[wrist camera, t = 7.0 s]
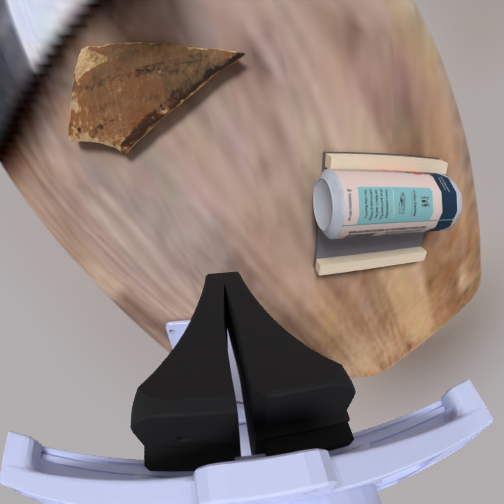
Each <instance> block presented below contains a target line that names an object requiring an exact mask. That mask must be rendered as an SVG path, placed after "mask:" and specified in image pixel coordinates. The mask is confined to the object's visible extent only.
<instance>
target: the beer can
mask: <svg viewBox="0 0 504 504" xmlns="http://www.w3.org/2000/svg"><path fill="white" fill-rule="evenodd" d="M313 208H314V214H315V218H316V222H317V224H318V226H319V228H320V229H321V230H322V231H323V233H324V234H325V236H327V237H328V238H329V239H341V238H353V237H365V236H377V235H390V234H402V233H415V232H428V231H443V230H446V229H448V228H450V227H451V226H452V225H453V224H454V223H455V222H456V221H457V219H458V217H459V215H460V213H461V211H462V199H461V193H460V191H459V190H458V188H457V186H456V184H455V183H454V182H453V181H452V180H451V179H450V178H448V177H447V176H446V175H444V174H441V173H428V172H414V171H397V170H373V169H326V170H324V171H323V172H322V174H321V175H320V177H319V179H318V180H317V182H316V184H315V187H314V192H313Z"/></svg>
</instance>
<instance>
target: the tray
mask: <svg viewBox="0 0 504 504" xmlns="http://www.w3.org/2000/svg"><path fill="white" fill-rule="evenodd" d="M447 165H448V163H446V162H444V161H442V160H440V159H438V158H431V157H421V156H410V155H397V154H380V153H358V152H323V164H322V172H323V171H324V170H326V169H373V170H397V171H414V172H428V173H441V174H446V171H447ZM424 235H425V232H415V233H402V234H390V235H377V236H365V237H353V238H341V239H329V238H328V237H327V236H325V234H324V233H323V231H322V230H321V229H320V228H319V226H318V227H317V237H316V247H315V256H314V265H313V266H314V267H315V269H316V271H317V273H318V275H319V276H320V275H328V274H335V273H342V272H350V271H357V270H364V269H371V268H377V267H384V266H391V265H397V264H404V263H410V262H416V261H423V260H424V259H425V256H426V253H427V251H425V250H424V249H423V248H422V247H421V246H422V242H423V238H424Z"/></svg>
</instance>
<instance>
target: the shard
mask: <svg viewBox="0 0 504 504" xmlns="http://www.w3.org/2000/svg"><path fill="white" fill-rule="evenodd" d="M244 55H245V53H239V52H235V51H227V50H221V49H202V48H196V47H186V46H178V45H175V44H169V43H148V42H133V43H126V42H122V43H109V44H106V45H104V46H88V47H85V48H83V49H82V50H81V53H80V55H79V58H78V62H77V66H76V69H75V72H74V77H73V79H74V80H73V87H72V99H71V111H70V120H69V126H68V136H69V138H70V140H71V141H77V142H82V141H85V142H96V143H102V144H104V145H107V146H111V147H114V148H117V149H118V150H119V151H120V152H121V153H122V154H124V155H125V154H128V153H129V151H130V150H131V149H132V147H133V146H135V144H136V143H137V142H138V141H139V140H140V139H141V138H143V137H144V136H145V135H146V134H147V133H148V132H149V131H151V130H152V128H153V127H154V126H156V125H157V124H158V123H159V122H160V121H161V120H162V119H163V118H164V117H165V116H166V115H168V114H169V113H170V112H171V111H172V110H174V109H175V108H176V107H177V106H179V105H181V104H182V103H183V102H184V101H185V100H186V99H187V98H189V97H190V96H191V95H193V94H194V93H195V92H196V91H198V90H199V89H200V88H201V87H202V86H203V85H204V84H205V83H207V82H208V81H209V80H210V79H211V78H212V77H214V76H215V75H216V74H217V73H218V72H219V71H221V70H222V69H224V68H225V67H227V66H230V65H232V64H233V63H235V62H236V61H237V60H239V59H240V58H242V57H243V56H244Z"/></svg>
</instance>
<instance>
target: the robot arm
mask: <svg viewBox="0 0 504 504" xmlns="http://www.w3.org/2000/svg"><path fill="white" fill-rule="evenodd" d="M166 330H167V333H168V336H169V340H170V343H171V346H172V349H173V350H172V351H171V353H170V354H169V355H168V357H167V358H166V359H165V360H164V361H163V362H162V364H161V365H160V366H159V367H158V368H157V369H156V371H155V372H154V373H153V374H152V375H151V376H150V377H149V378H148V379H146V380H145V381H144V383H142V384H141V385H140V386H139V387H138V389H137V392H136V395H135V398H134V402H133V406H132V413H131V429H132V431H133V433H134V434H135V435H136V436H137V438H138V439H139V440H140V441H141V442H142V444H143V445H144V446H145V447H144V449H145V451H144V453H145V454H144V460H136V459H135V460H134V459H121V458H111V457H102V456H94V455H87V454H80V453H74V452H68V451H63V450H58V449H53V448H48V447H44V446H42V445H41V444H40V443H39V442H38V441H36V440H35V439H33V438H31V437H29V436H26V435H22V434H18V433H15V432H11V431H9V432H8V436H7V440H6V445H5V450H4V455H3V460H2V466H1V472H0V483H1V484H3V485H5V486H7V487H9V488H10V489H13V490H14V491H16V492H18V493H20V494H23V495H24V496H26V497H28V498H31V499H33V500H35V501H38V502H41V503H44V504H381V502H380V498H379V496H378V493H377V492H378V491H380V490H383V489H385V488H387V487H389V486H391V485H394V484H396V483H398V482H400V481H402V480H404V479H406V478H408V477H410V476H412V475H414V474H416V473H418V472H420V471H422V470H424V469H426V468H428V467H429V466H431V465H433V464H435V463H436V462H438V461H440V460H442V459H443V458H445V457H447V456H448V455H450V454H452V453H453V452H455V451H457V450H458V449H460V448H461V447H463V446H464V445H466V444H467V443H468V442H469V441H471V440H472V439H473V438H474V437H475V436H477V435H478V434H479V433H480V432H482V431H483V430H484V429H485V428H486V427H487V426H488V425H490V424H491V423H492V422H493V418H492V416H491V415H490V413H489V411H488V409H487V408H486V406H485V404H484V403H483V401H482V399H481V398H480V396H479V394H478V393H477V391H476V390H475V388H474V386H473V385H472V383H471V382H470V380H466V381H464V382H462V383H460V384H458V385H456V386H454V387H453V388H451V389H449V390H448V391H447V392H446V393H445V394H444V395H443V397H442V398H441V400H439V401H437V402H435V403H433V404H430V405H428V406H426V407H424V408H422V409H419V410H417V411H415V412H412V413H410V414H407V415H405V416H402V417H400V418H397V419H394V420H392V421H389V422H386V423H384V424H381V425H378V426H375V427H372V428H369V429H366V430H363V431H360V432H356V433H353V434H352V432H351V429H350V427H349V424H348V421H349V420H350V419H349V415H348V413H347V408H348V407H349V405H350V403H351V401H352V399H353V398H354V395H355V388H354V386H353V384H352V381H351V379H350V377H349V376H348V374H347V373H346V371H345V370H344V368H343V366H342V365H341V364H339V363H337V362H335V361H332V360H330V359H328V358H326V357H324V356H322V355H320V354H319V353H317V352H315V351H314V350H312V349H310V348H309V347H307V346H306V345H304V344H303V343H302V342H300V341H299V340H297V339H296V338H295V337H293V336H292V335H291V334H290V333H288V332H287V331H286V330H285V329H284V328H282V327H281V326H280V325H279V324H278V323H277V322H276V321H275V320H274V319H273V318H272V317H271V316H270V315H269V314H268V313H267V312H266V311H265V309H264V308H263V307H262V306H261V305H260V304H259V302H258V301H257V300H256V298H255V297H254V296H253V295H252V293H251V292H250V290H249V289H248V287H247V286H246V284H245V283H244V281H243V279H242V277H241V275H240V274H239V273H238V272H228V273H216V274H208V275H207V276H206V279H205V284H204V288H203V291H202V295H201V297H200V300H199V302H198V305H197V308H196V310H195V312H194V314H193V316H192V318H191V320H184V321H172V322H168V323H166Z"/></svg>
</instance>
